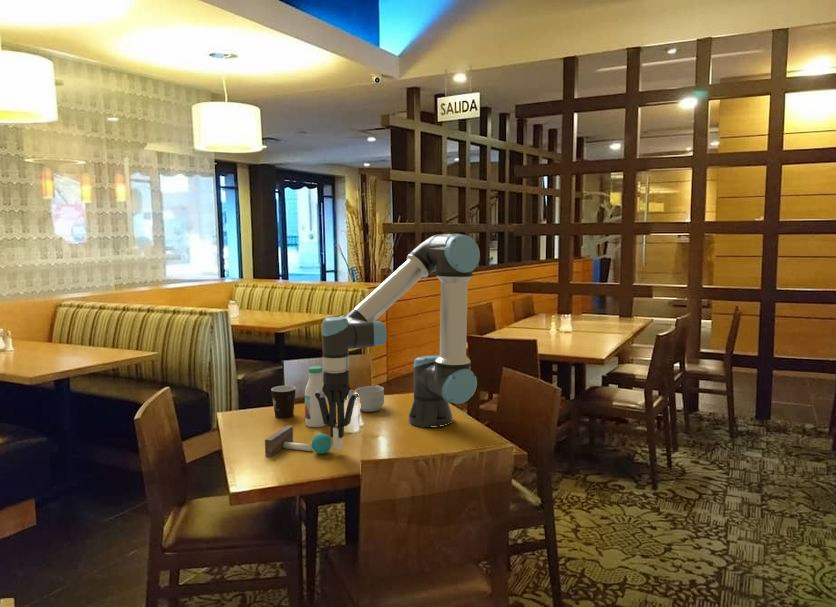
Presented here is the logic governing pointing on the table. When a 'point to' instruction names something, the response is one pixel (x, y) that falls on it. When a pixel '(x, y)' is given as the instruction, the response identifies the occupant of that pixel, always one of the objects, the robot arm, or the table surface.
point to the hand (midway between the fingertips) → (337, 447)
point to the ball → (321, 443)
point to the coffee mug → (283, 401)
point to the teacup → (371, 398)
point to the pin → (297, 446)
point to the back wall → (278, 440)
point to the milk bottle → (314, 398)
